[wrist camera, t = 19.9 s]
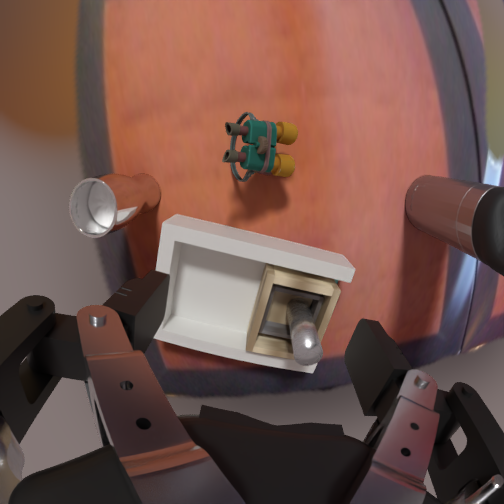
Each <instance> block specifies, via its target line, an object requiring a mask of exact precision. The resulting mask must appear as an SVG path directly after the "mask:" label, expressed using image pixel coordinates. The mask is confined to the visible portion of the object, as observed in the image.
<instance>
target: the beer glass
mask: <svg viewBox="0 0 504 504" xmlns="http://www.w3.org/2000/svg"><path fill="white" fill-rule="evenodd" d="M160 194H161V192H160V187H159V184H158V182H157V181H156V179H155V178H153V177H152V176H151V175H148V174H145V173H140V174H136V175H134V176H132V177H130V176H126V175H122V174H104V175H99V176H95V177H92V178H87V179H84V180H82V181H81V182H80V183H78V184H77V185H76V187H75V188H74V190H73V191H72V194H71V197H70V201H69V211H70V216H71V219H72V222H73V224H74V225H75V227H76V228H77V229H78V230H79V231H80V232H81V233H82V234H83V235H85V236H88V237H91V238H99V237H102V236H104V235H107V234H110V233H113V232H115V231H117V230H120V229H122V228H123V227H125V226H127V225H128V224H129V223H131V222H132V221H133V220H134V219H135V218H136V217H137V216H138V215H139V214H140V213H146V212H149V211H151V210H153V209H154V208H155V207H156V206H157V204H158V202H159V200H160Z"/></svg>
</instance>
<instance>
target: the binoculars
mask: <svg viewBox="0 0 504 504" xmlns="http://www.w3.org/2000/svg"><path fill="white" fill-rule="evenodd" d="M247 115H249V117H250V120H247V121H246V122H245V123H244V124H243V126H240V124H241V122H242V121H243V119H244V118H245V117H246V116H247ZM225 127H226V132H227V134H228V135H231V136H232V138H231V145H230V150H226V152H225V154H224V157H223V160H222V162H230V163H231V169H232V172H233V174H234V176H235V177H236V179H237V180H238V181H242V182H245V181H247V180H248V179H249V177H251V175H252V174H254V173H256V172H257V173H260V174H264V175H270V174H273V175H276V176H282V177H288V176H290V175H291V174H292V173H293V172H294V169H295V162H294V159H293V158H292V157H291V156H290V155H286V154H275V152H276V149H275V148H274V147H275V146H276V142H277V143H281V144H285V145H291V144H293V143H294V142H295V140H296V139H297V136H298V130H297V127H296V126H295V125H294V124H292V123H286V122H278V123H277V124H276V125H275V123H273V122H269V121H258V119H256V117H254V115H253V114H252V113H248V112H245V113H244V114H242V115H241V116H240V118H239V119H238V120H237V122H236V124H235V123H228V122H226V123H225ZM238 135H242V140H243V142H244V143H249V144H253V145H249V146H243V147H242V149H241V152H237V151H236V150H235V141H236V136H238ZM235 162H240V165H241V167H242V168H243V169H248V171H247V172H246V174H245V177H244V178H243V179H242V178H241V177H240V176H239V174H238V172H237V170H236V166H235Z"/></svg>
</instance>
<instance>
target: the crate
mask: <svg viewBox="0 0 504 504" xmlns="http://www.w3.org/2000/svg"><path fill="white" fill-rule="evenodd" d="M340 292H341V290H340V289H339V287H338V285H337V284H336V282H335V280H334V279H332V278H328V277H324V276H320V275H315V274H311V273H307V272H303V271H299V270H294V269H290V268H286V267H282V266H278V265H273V264H269V263H265V267H264V270H263V274H262V278H261V281H260V285H259V289H258V292H257V296H256V299H255V303H254V307H253V310H252V314H251V317H250V321H249V324H248V328H247V338H246V351H251V352H256V353H261V354H266V355H271V356H276V357H282V358H287V359H293V360H295V359H294V354H293V347H292V341H291V334H290V328H289V322H288V316H287V309H286V308H287V304H288V303H289V301H291V300H292V299H294V298H303V299H305V300H306V301H307V302H308V305H309V308H310V311H311V314H312V317H313V321H314V324H315V327H316V330H317V333H318V337H319V340H320V342H321V340H322V338H323V335H324V333H325V331H326V328H327V326H328V323H329V321H330V318H331V316H332V313H333V311H334V308H335V305H336V303H337V300H338V298H339V295H340Z"/></svg>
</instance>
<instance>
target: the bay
mask: <svg viewBox="0 0 504 504" xmlns="http://www.w3.org/2000/svg"><path fill="white" fill-rule="evenodd" d="M265 263H269V264H273V265H278V266H282V267H286V268H290V269H294V270H299V271H303V272H307V273H311V274H315V275H320V276H324V277H328V278H332V279H334V280H335V282H336V284H337V283H338V280H341V281H345V282H349V283H351V280H352V278H353V275H354V272H355V268H354V267H353V266H352V265H351V263H350V262H349V261H348V260H347V259H346V258H345V256H344V255H342V254H338V253H334V252H330V251H326V250H322V249H319V248H315V247H311V246H307V245H303V244H299V243H295V242H291V241H287V240H283V239H279V238H275V237H271V236H267V235H263V234H259V233H255V232H251V231H246V230H242V229H238V228H234V227H230V226H226V225H221V224H217V223H213V222H209V221H205V220H200V219H196V218H192V217H187V216H183V215H179V214H175V215H174V216H172V217H171V218H169V219H167V220H166V221H164V222H163V224H162V230H161V236H160V243H159V250H158V257H157V264H156V271H159V272H163V273H167V274H169V275H170V282H169V289H168V297H167V304H166V311H165V316H164V319H163V322H162V324H161V325H160V327H159V329H158V331H157V332H156V334H155V336H154V338H155V339H158V340H162V341H165V342H169V343H172V344H176V345H179V346H183V347H187V348H190V349H194V350H198V351H202V352H206V353H210V354H214V355H219V356H223V357H227V358H232V359H236V360H241V361H246V362H251V363H256V364H261V365H266V366H271V367H277V368H283V369H288V370H294V371H301V372H307V373H313V372H314V370H315V368H316V365H317V363H316V364H313V365H310V366H303V365H300V364H298V363H297V362H296V361H295V360H293V359H287V358H282V357H276V356H271V355H266V354H261V353H256V352H251V351H246V338H247V328H248V324H249V321H250V317H251V314H252V310H253V307H254V303H255V299H256V296H257V292H258V289H259V285H260V281H261V278H262V274H263V270H264V267H265Z"/></svg>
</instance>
